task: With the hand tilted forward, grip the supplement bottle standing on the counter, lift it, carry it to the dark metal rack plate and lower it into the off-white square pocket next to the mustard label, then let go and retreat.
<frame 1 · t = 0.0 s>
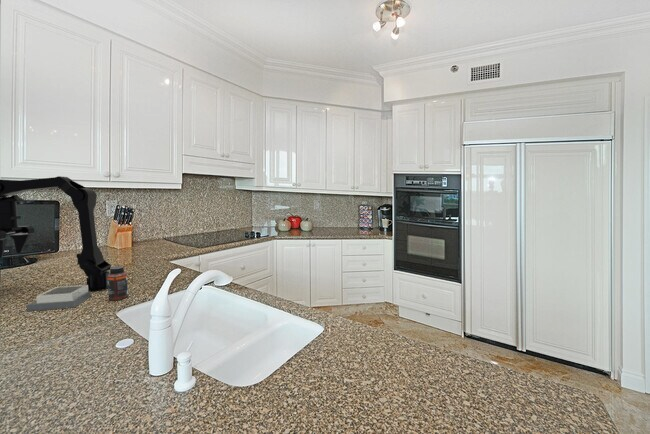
hand: (9, 255, 112), 15 cm above the countertop, tool pointing down, fingers open, 9 cm apart
supplement bottle: (118, 298, 110), on the countertop
rack plate: (61, 303, 104), on the countertop
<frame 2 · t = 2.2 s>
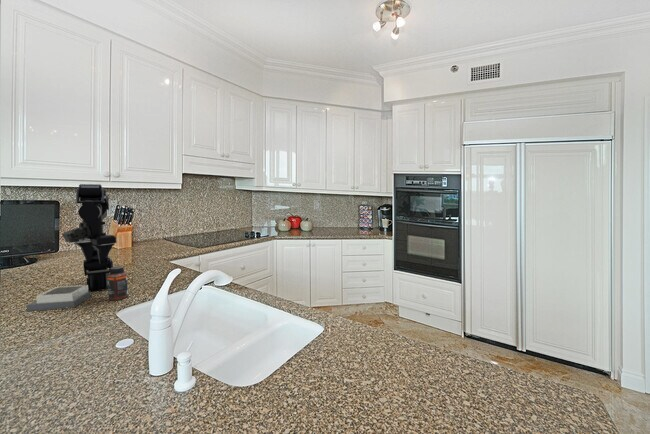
hand: (95, 262, 109), 13 cm above the countertop, tool pointing down, fingers open, 9 cm apart
nothing on the countertop moved.
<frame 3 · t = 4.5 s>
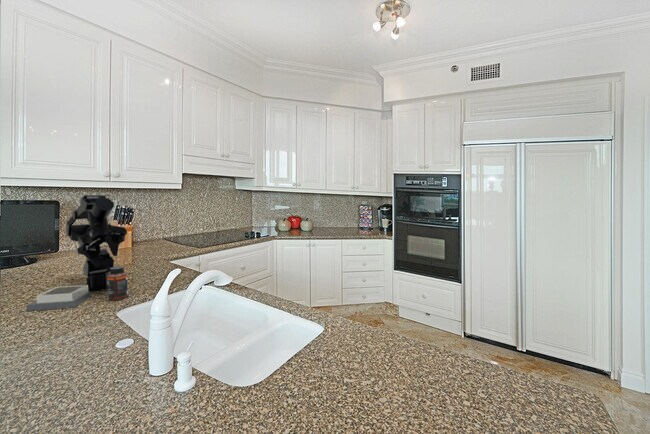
hand: (106, 261, 111), 13 cm above the countertop, tool tilted 35°, fingers open, 9 cm apart
nothing on the countertop moved.
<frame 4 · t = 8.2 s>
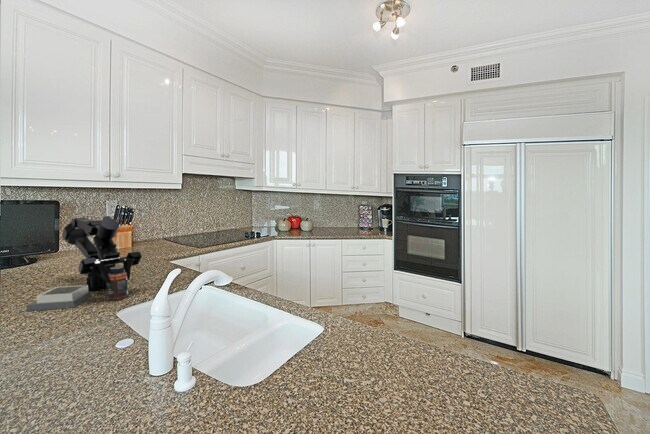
hand: (119, 280, 108), 7 cm above the countertop, tool tilted 45°, fingers closed on supplement bottle, 6 cm apart
supplement bottle: (118, 298, 110), on the countertop, touching gripper
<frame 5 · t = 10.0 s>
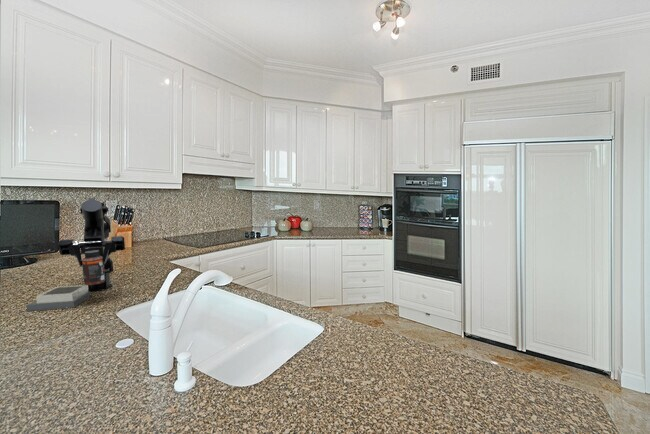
hand: (92, 265, 104), 13 cm above the countertop, tool tilted 45°, fingers closed on supplement bottle, 6 cm apart
supplement bottle: (95, 283, 105), point 6 cm above the countertop, touching gripper
when the fingers open (9 cm above the countertop, at t = 12.1 s): supplement bottle stays where it is, resting on rack plate.
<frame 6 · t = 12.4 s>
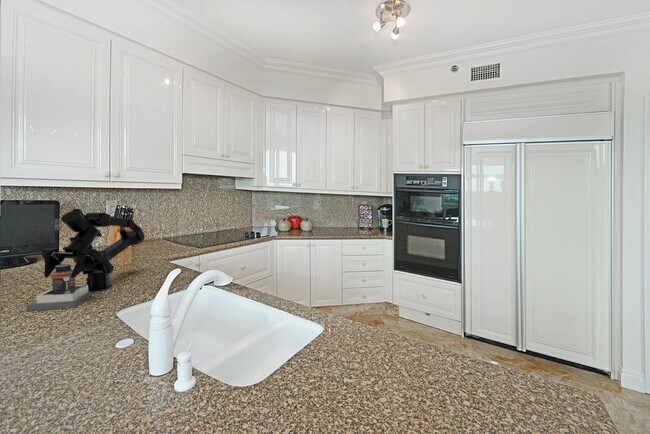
hand: (59, 277, 102), 10 cm above the countertop, tool tilted 45°, fingers open, 9 cm apart
supplement bottle: (65, 297, 104), point 2 cm above the countertop, touching rack plate
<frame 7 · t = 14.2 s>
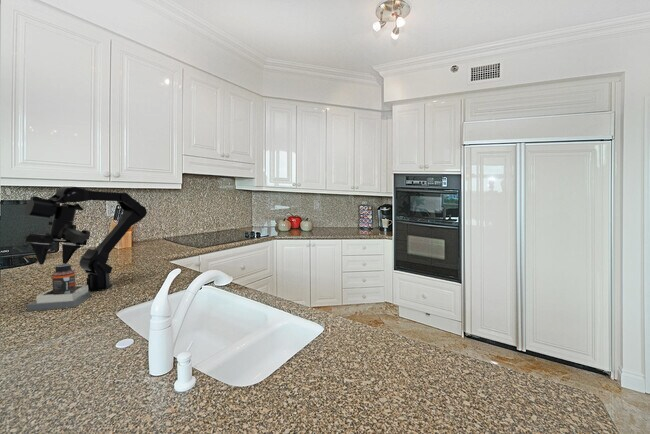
hand: (53, 264, 107), 13 cm above the countertop, tool pointing down, fingers open, 9 cm apart
nothing on the countertop moved.
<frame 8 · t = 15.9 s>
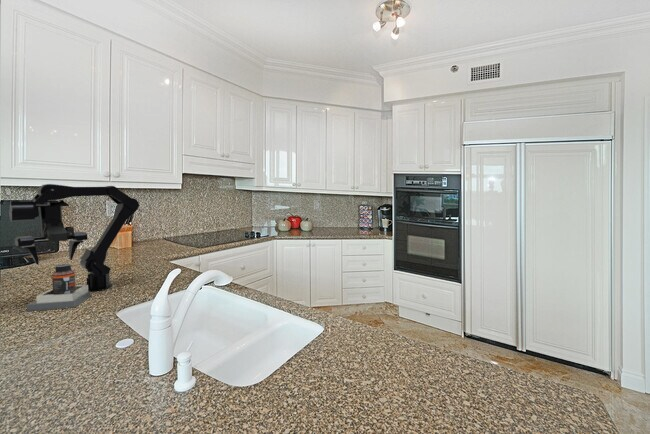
hand: (54, 262, 109), 13 cm above the countertop, tool pointing down, fingers open, 9 cm apart
nothing on the countertop moved.
at the end: supplement bottle 0.3 cm from the target spot on the rack plate, point 1.8 cm above the rack plate's base; supplement bottle tilted 0°; the gripper is holding nothing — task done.
